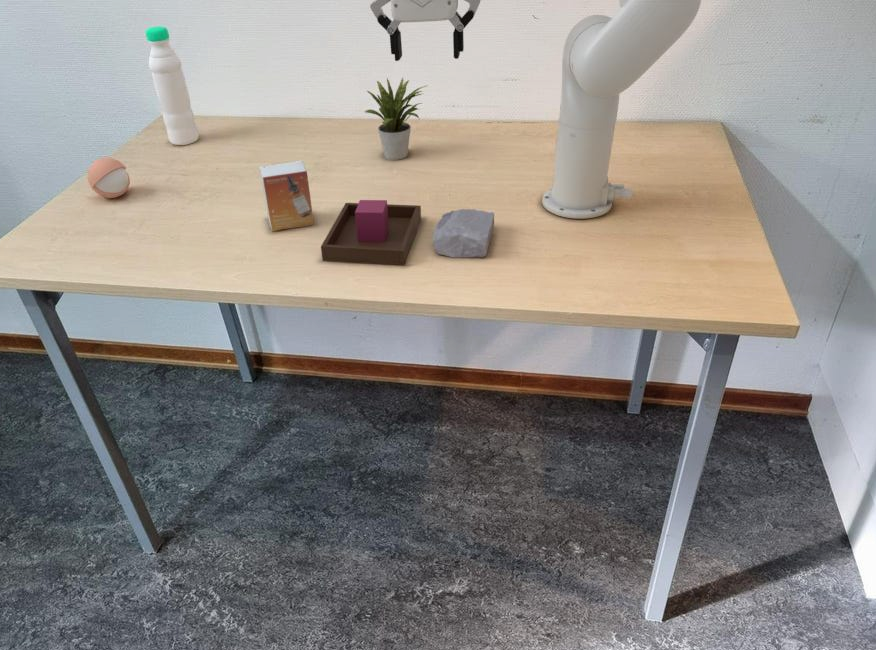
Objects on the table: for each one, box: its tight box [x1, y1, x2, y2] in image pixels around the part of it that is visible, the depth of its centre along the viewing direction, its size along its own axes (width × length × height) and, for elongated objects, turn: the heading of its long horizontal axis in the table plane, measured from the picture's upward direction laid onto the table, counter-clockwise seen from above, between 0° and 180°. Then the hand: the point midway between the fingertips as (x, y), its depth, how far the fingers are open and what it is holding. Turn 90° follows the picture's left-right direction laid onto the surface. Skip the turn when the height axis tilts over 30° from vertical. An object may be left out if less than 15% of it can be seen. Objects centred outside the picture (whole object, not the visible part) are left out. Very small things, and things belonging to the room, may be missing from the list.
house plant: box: [364, 77, 429, 161], centre depth 140 cm, size 14×14×16 cm
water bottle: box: [145, 26, 200, 146], centre depth 152 cm, size 7×7×25 cm
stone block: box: [432, 208, 495, 259], centre depth 114 cm, size 12×5×10 cm
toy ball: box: [87, 157, 131, 199], centre depth 134 cm, size 8×8×8 cm
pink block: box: [355, 199, 389, 242], centre depth 115 cm, size 5×5×6 cm
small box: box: [258, 159, 315, 232], centre depth 120 cm, size 8×6×10 cm
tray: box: [320, 202, 422, 267], centre depth 116 cm, size 14×17×3 cm
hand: (427, 57), depth 108 cm, fingers open, 9 cm apart
